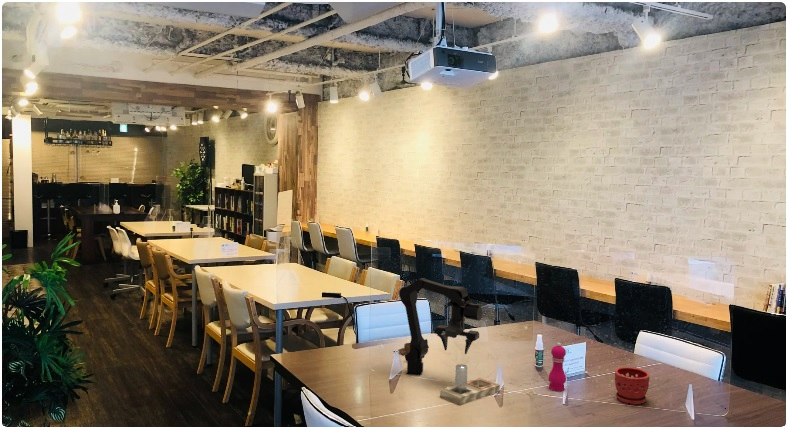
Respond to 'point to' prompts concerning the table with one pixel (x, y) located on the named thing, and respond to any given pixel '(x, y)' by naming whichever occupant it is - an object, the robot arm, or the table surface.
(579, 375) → the table surface
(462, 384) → the silver metal cylinder
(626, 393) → the plant pot
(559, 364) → the pepper mill
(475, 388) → the socket board
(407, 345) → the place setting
